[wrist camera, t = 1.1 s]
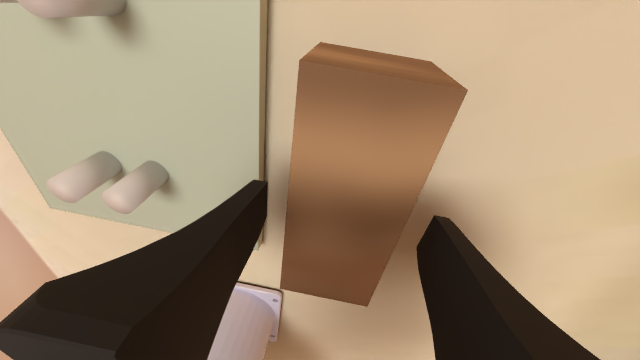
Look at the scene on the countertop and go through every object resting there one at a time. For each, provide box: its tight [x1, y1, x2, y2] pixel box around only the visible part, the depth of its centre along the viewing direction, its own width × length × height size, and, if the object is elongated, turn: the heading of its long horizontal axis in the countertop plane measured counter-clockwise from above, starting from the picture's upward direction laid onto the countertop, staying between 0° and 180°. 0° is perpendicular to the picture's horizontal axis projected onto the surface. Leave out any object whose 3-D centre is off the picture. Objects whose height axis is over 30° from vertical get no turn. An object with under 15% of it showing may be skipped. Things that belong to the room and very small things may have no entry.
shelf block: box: [280, 42, 468, 306], centre depth 13 cm, size 12×5×5 cm, turn 172°
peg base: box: [0, 0, 268, 251], centre depth 12 cm, size 20×16×4 cm
